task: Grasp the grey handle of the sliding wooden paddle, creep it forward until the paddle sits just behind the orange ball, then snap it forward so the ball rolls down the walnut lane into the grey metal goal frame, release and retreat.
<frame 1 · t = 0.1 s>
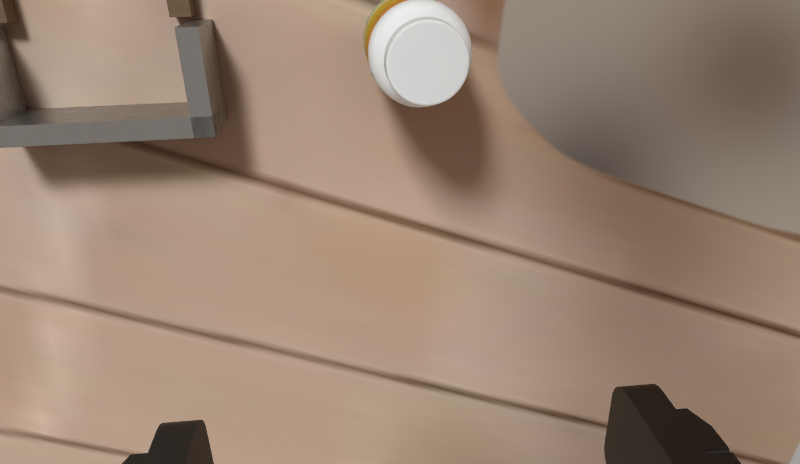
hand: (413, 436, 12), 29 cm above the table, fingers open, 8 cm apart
supplement bottle: (406, 38, 37), on the table
goal: (110, 75, 36), on the table
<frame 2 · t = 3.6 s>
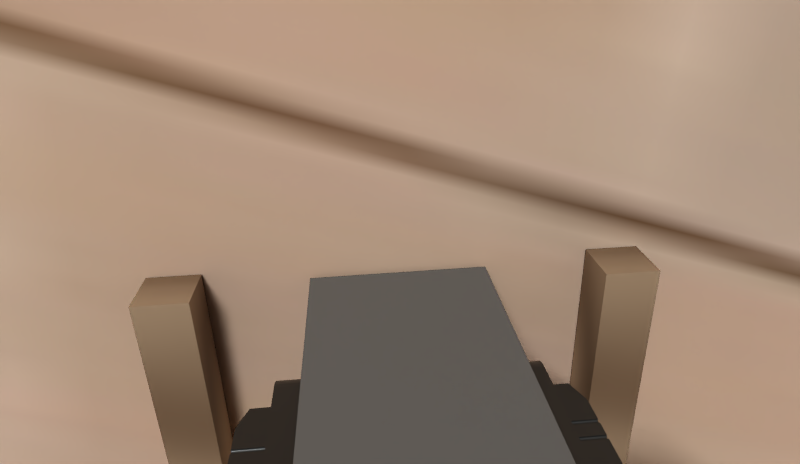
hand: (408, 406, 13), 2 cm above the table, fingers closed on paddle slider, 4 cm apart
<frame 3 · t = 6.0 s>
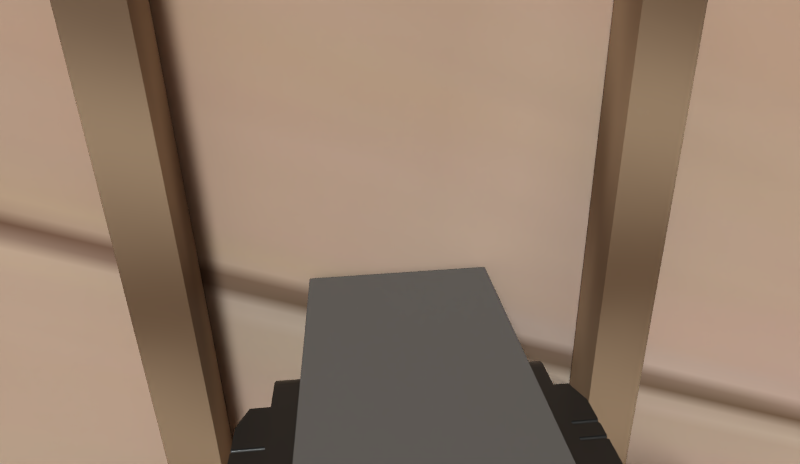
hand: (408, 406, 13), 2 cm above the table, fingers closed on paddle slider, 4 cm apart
lane: (396, 236, 13), on the table
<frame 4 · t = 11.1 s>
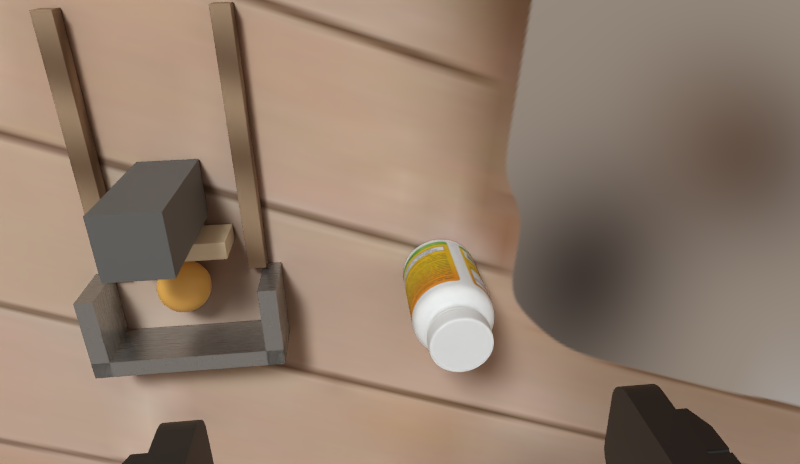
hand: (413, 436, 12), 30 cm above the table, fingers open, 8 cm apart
ball: (184, 285, 41), point 2 cm above the table, tilted 145°
supplement bottle: (437, 268, 45), on the table
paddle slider: (157, 230, 37), point 5 cm above the table, slide at 9.4 cm
lane: (165, 147, 39), on the table
goal: (196, 304, 44), on the table
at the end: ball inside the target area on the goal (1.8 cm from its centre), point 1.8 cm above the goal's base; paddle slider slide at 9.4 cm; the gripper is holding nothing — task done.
